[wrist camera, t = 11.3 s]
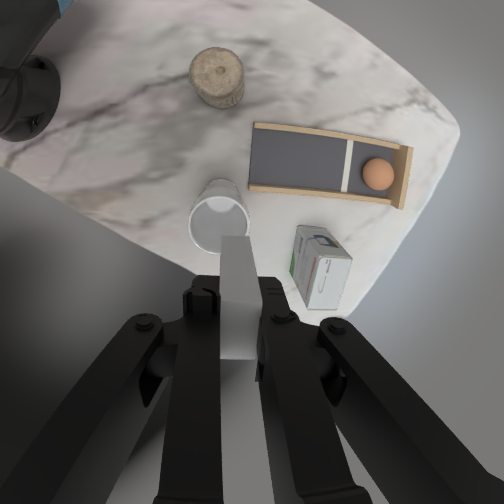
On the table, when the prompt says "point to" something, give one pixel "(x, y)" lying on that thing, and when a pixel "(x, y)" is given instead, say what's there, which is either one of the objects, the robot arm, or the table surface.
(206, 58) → the carving
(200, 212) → the drinking glass
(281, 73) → the table surface
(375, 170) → the ball
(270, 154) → the lane
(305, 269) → the ink box
